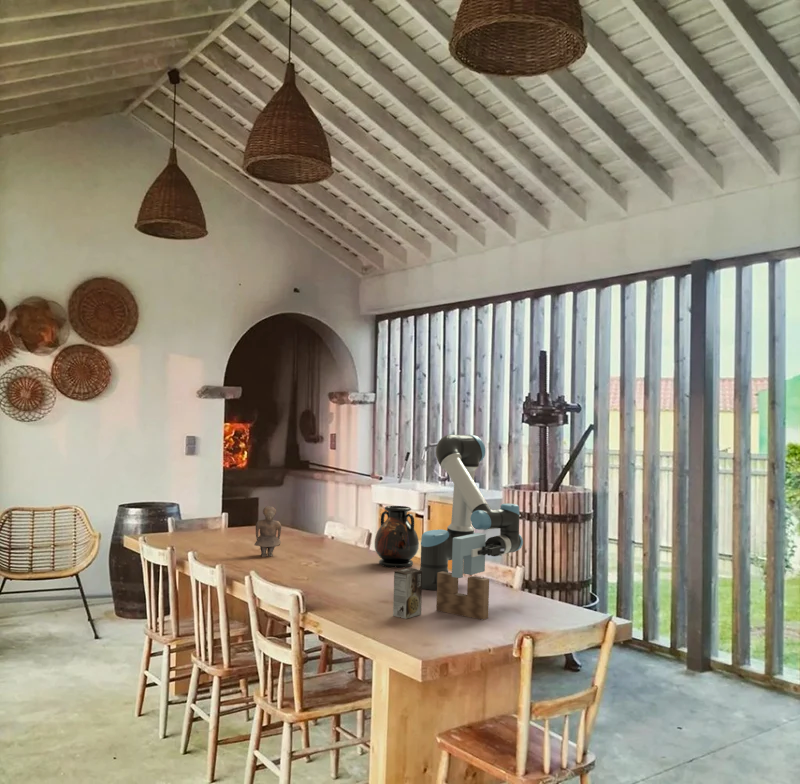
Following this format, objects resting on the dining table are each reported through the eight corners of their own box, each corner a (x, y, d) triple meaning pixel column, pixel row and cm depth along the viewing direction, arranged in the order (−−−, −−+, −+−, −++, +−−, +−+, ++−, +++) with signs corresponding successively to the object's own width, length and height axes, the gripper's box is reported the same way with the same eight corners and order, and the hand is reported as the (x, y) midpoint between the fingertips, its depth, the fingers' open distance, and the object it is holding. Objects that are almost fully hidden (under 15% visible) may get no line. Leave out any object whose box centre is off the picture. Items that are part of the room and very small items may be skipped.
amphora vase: (426, 565, 386) (428, 507, 387) (401, 571, 368) (403, 510, 369) (390, 559, 398) (392, 503, 399) (364, 565, 380) (366, 506, 381)
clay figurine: (255, 558, 389) (257, 507, 390) (252, 554, 399) (254, 504, 399) (281, 557, 393) (283, 507, 394) (278, 554, 403) (279, 504, 404)
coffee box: (407, 611, 292) (409, 567, 292) (421, 614, 288) (423, 570, 288) (392, 615, 285) (393, 570, 285) (406, 619, 281) (407, 573, 281)
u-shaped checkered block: (436, 610, 295) (437, 572, 295) (441, 608, 298) (442, 571, 298) (483, 619, 283) (484, 580, 283) (488, 618, 286) (489, 579, 286)
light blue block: (451, 576, 288) (452, 537, 288) (476, 569, 302) (477, 533, 303) (459, 578, 286) (461, 539, 286) (484, 571, 300) (485, 534, 301)
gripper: (516, 557, 307) (486, 565, 288) (479, 552, 317) (447, 560, 298) (516, 538, 307) (487, 545, 288) (479, 533, 317) (448, 539, 298)
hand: (467, 552), depth 293 cm, fingers closed on light blue block, 3 cm apart
